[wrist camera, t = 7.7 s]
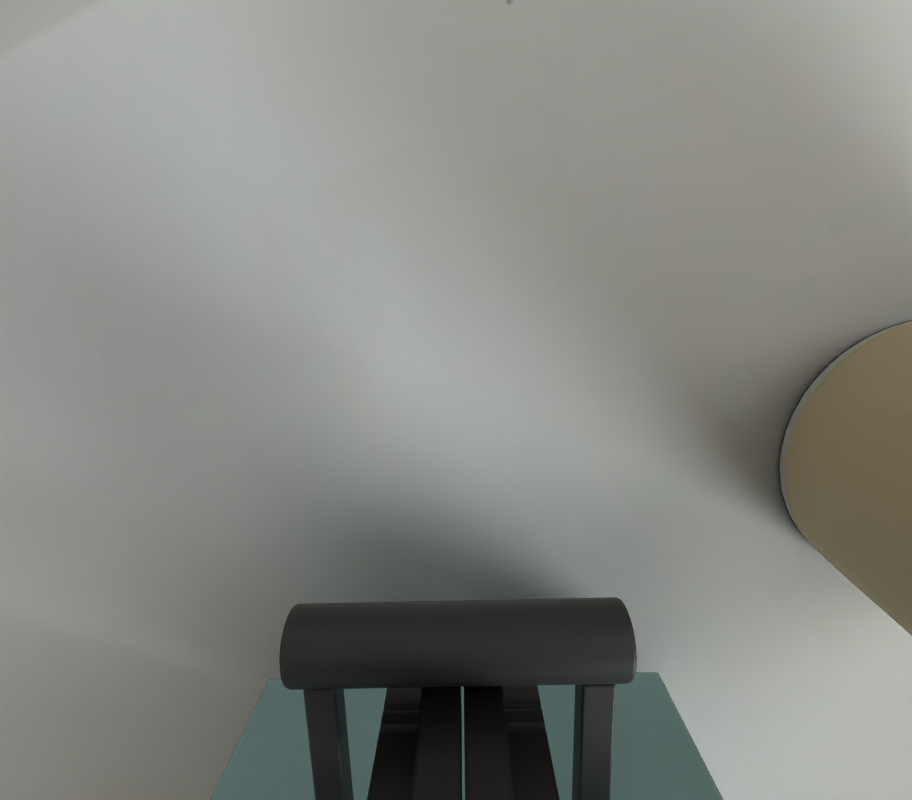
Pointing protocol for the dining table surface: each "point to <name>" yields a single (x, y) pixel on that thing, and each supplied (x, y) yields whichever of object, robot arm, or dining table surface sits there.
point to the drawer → (463, 665)
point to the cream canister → (858, 468)
